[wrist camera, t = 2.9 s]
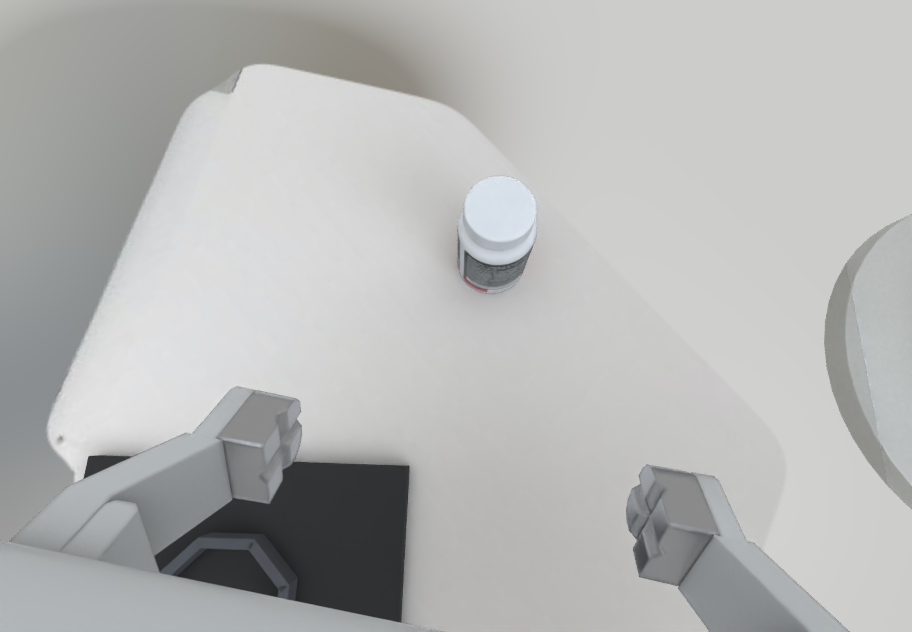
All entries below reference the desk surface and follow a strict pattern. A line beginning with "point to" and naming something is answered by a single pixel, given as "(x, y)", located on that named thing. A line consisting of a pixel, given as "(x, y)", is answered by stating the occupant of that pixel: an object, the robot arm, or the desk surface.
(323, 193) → the desk surface
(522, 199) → the pill bottle
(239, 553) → the socket pad
